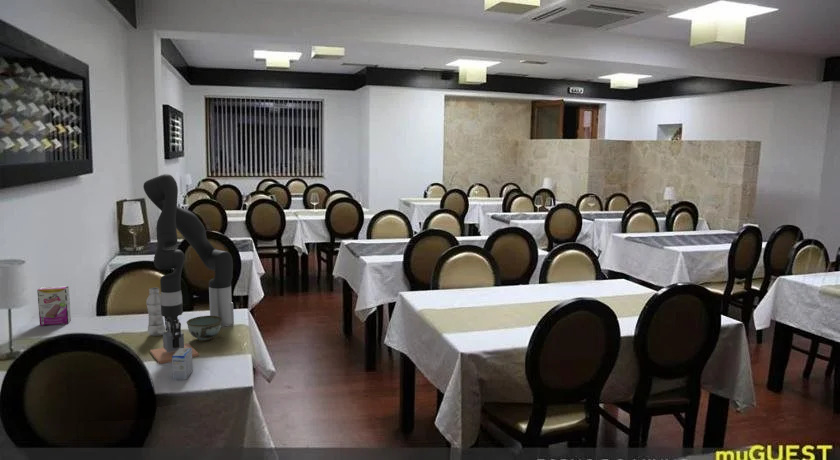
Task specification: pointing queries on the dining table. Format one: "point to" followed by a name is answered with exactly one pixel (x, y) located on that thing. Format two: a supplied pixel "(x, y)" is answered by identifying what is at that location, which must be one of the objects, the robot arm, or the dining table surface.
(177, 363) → the medicine box
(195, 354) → the terracotta tile
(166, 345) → the slate cube
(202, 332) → the bowl
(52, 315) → the candy bar box
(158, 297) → the plastic bottle
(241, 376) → the dining table surface
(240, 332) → the dining table surface
